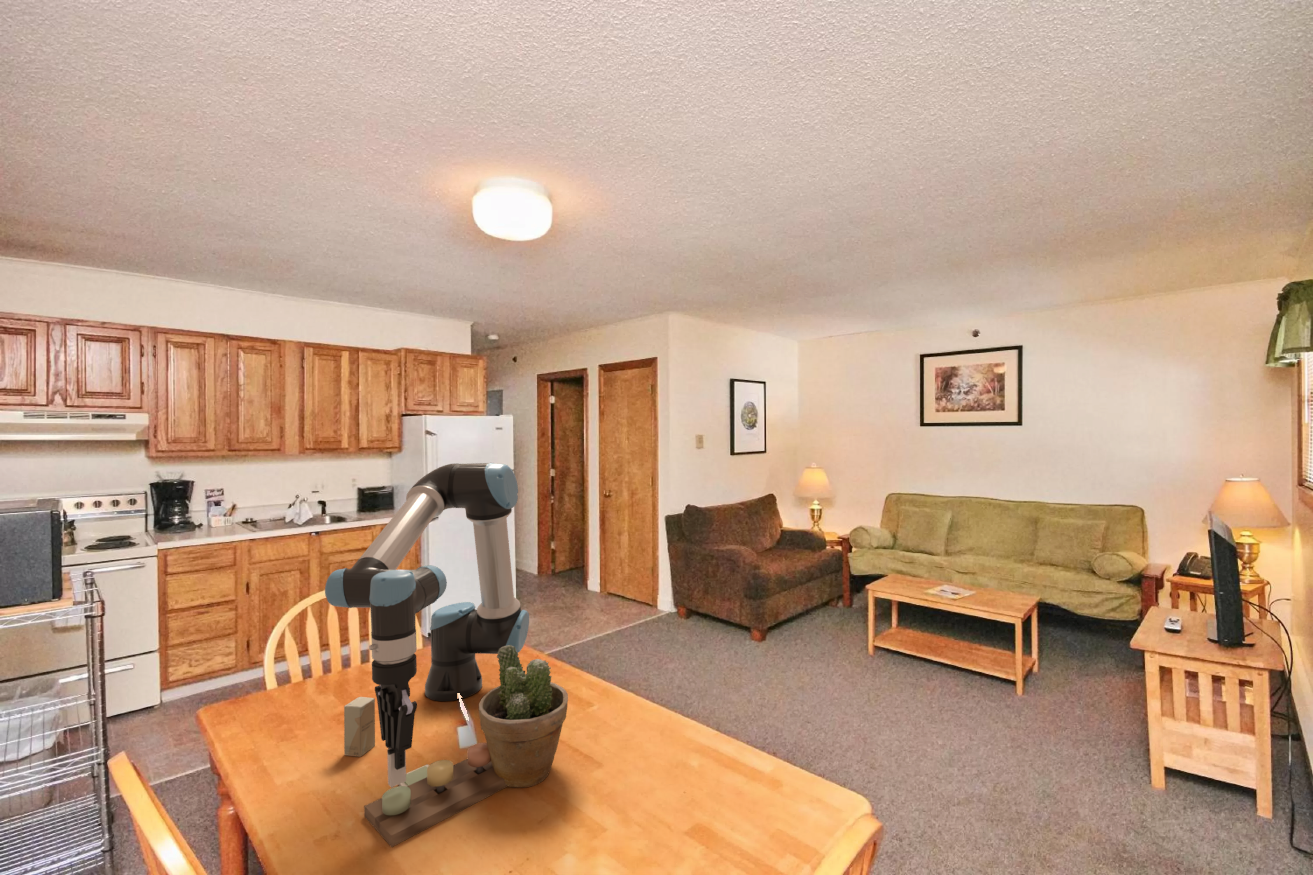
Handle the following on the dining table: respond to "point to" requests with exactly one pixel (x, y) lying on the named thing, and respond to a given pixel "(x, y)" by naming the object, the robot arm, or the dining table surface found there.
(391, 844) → the board
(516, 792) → the dining table surface
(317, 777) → the dining table surface
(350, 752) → the box
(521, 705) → the potted plant
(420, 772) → the swatch
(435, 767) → the button ochre
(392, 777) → the robot arm
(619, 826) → the dining table surface
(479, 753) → the button terracotta
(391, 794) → the button green
